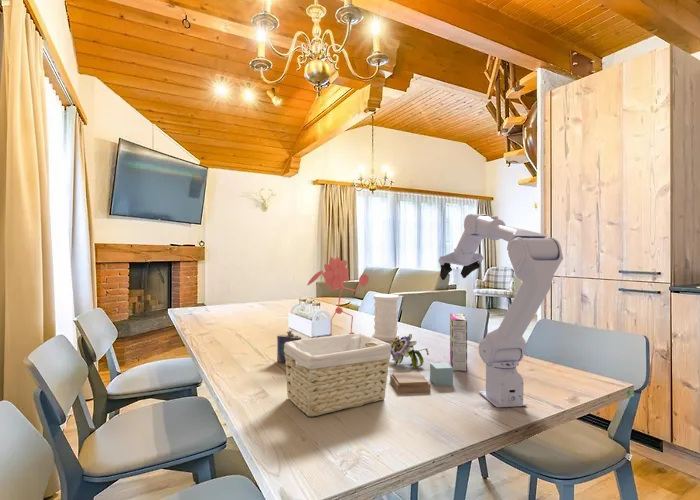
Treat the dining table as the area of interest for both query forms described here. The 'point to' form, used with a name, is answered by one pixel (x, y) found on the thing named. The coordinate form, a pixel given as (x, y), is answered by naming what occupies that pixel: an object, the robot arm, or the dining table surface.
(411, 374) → the square coaster
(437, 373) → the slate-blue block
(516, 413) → the dining table surface
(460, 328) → the candy bar box
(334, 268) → the figurine
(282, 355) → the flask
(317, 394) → the storage basket
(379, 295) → the decorative container
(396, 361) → the passion flower
